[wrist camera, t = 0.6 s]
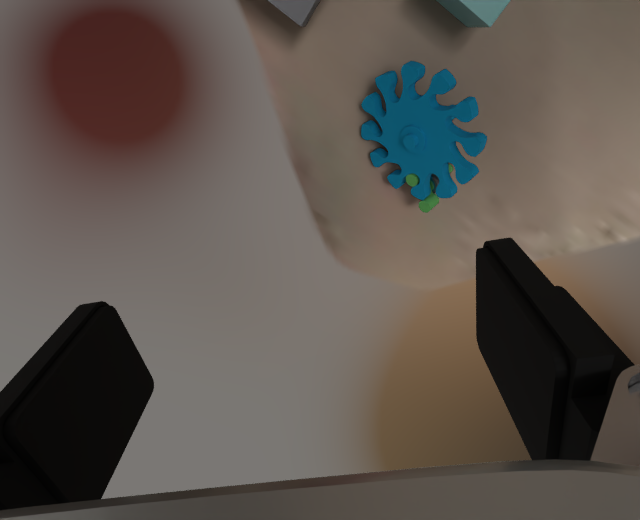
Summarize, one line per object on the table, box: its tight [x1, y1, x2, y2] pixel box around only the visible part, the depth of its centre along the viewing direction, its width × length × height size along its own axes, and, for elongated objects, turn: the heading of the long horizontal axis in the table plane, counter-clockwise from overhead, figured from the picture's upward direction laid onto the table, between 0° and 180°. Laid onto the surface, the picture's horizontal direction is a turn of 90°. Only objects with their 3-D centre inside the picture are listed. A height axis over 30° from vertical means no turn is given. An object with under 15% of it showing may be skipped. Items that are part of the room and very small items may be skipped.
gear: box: [361, 61, 487, 212], centre depth 31 cm, size 11×6×10 cm
